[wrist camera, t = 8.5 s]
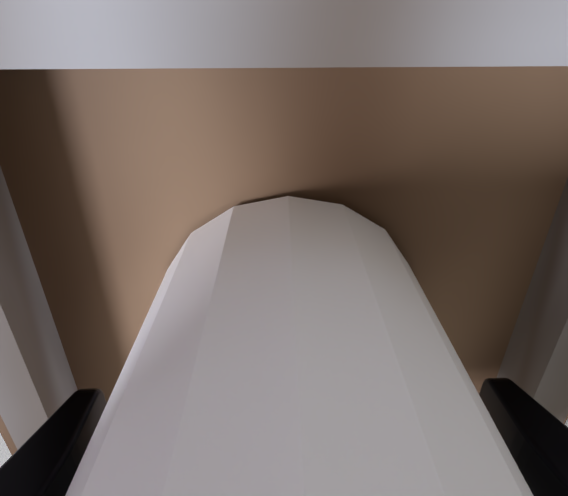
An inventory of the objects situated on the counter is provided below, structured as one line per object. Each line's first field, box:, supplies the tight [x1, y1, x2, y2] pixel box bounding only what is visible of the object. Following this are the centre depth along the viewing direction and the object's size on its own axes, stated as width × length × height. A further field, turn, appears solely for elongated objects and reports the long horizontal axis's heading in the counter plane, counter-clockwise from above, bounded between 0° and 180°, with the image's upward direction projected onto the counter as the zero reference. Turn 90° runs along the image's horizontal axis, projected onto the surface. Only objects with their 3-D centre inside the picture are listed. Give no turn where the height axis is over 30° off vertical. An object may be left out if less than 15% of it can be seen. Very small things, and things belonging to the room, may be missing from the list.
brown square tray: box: [0, 0, 568, 455], centre depth 11 cm, size 16×16×3 cm
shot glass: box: [65, 196, 533, 496], centre depth 8 cm, size 7×7×7 cm
